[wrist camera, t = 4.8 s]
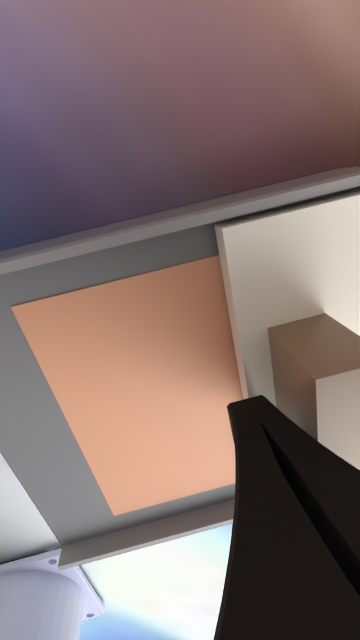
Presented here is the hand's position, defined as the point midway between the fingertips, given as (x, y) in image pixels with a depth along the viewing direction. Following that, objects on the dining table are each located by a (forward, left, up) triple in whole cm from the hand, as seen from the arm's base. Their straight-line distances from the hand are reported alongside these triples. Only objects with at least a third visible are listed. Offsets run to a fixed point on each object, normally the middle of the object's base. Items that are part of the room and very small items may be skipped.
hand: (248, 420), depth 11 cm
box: (-2, 0, -5) cm, 5 cm away
